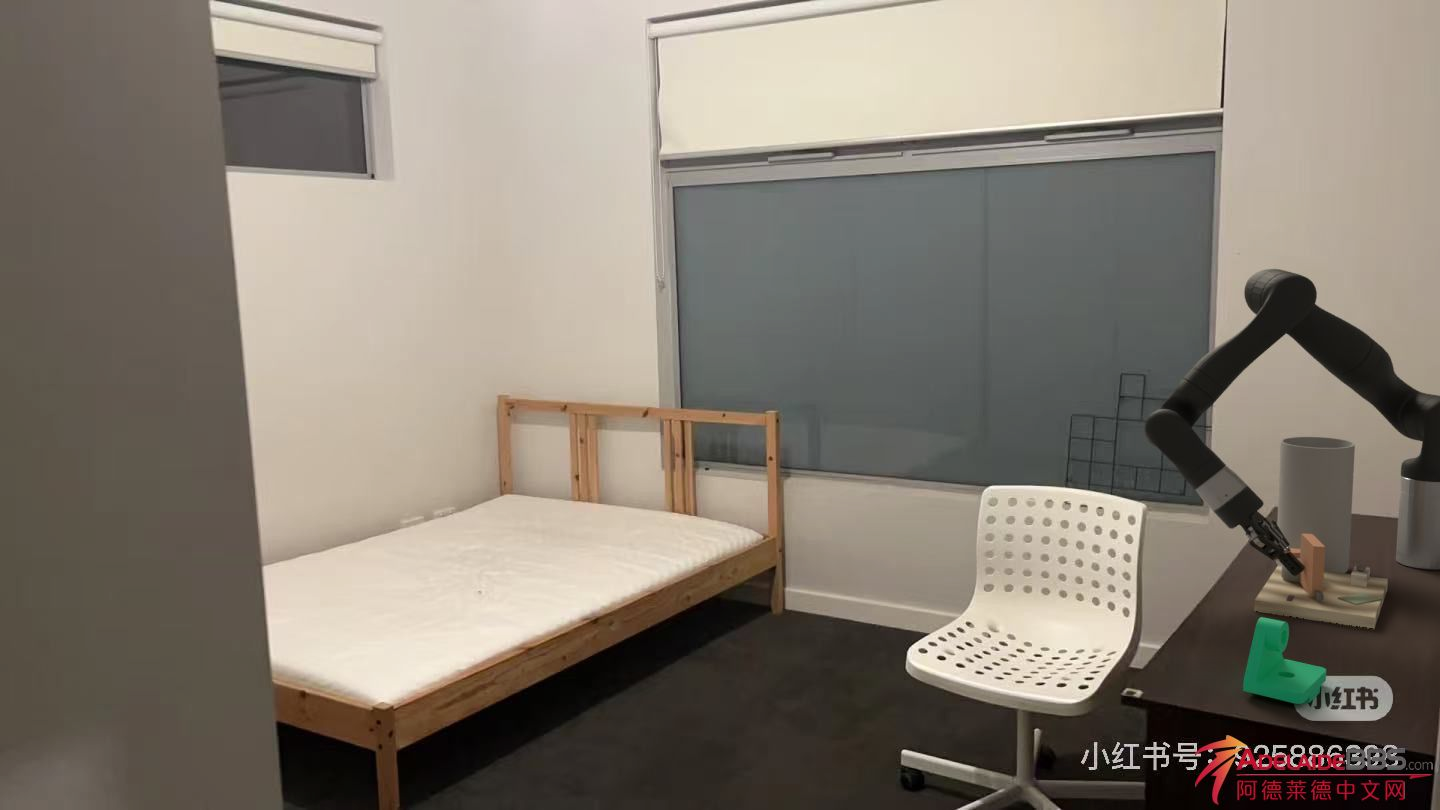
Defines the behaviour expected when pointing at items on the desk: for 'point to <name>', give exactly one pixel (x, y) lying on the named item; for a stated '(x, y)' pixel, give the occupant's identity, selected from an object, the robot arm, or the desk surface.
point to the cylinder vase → (1317, 495)
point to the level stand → (1327, 598)
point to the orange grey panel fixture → (1309, 566)
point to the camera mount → (1279, 667)
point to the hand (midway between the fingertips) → (1300, 572)
